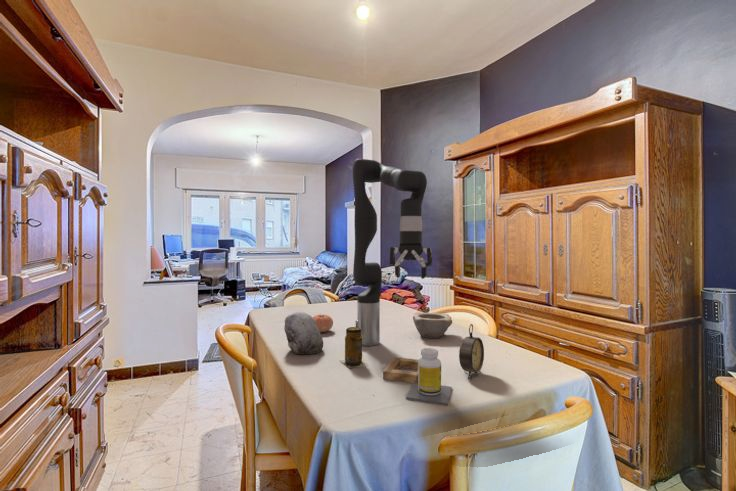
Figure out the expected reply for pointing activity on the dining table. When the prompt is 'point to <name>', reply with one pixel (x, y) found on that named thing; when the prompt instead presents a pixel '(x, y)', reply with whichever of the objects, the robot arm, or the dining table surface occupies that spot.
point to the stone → (302, 334)
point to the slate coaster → (436, 399)
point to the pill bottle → (429, 372)
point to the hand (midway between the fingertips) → (410, 277)
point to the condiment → (353, 348)
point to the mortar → (432, 324)
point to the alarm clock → (471, 354)
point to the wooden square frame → (399, 375)
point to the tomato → (323, 322)
